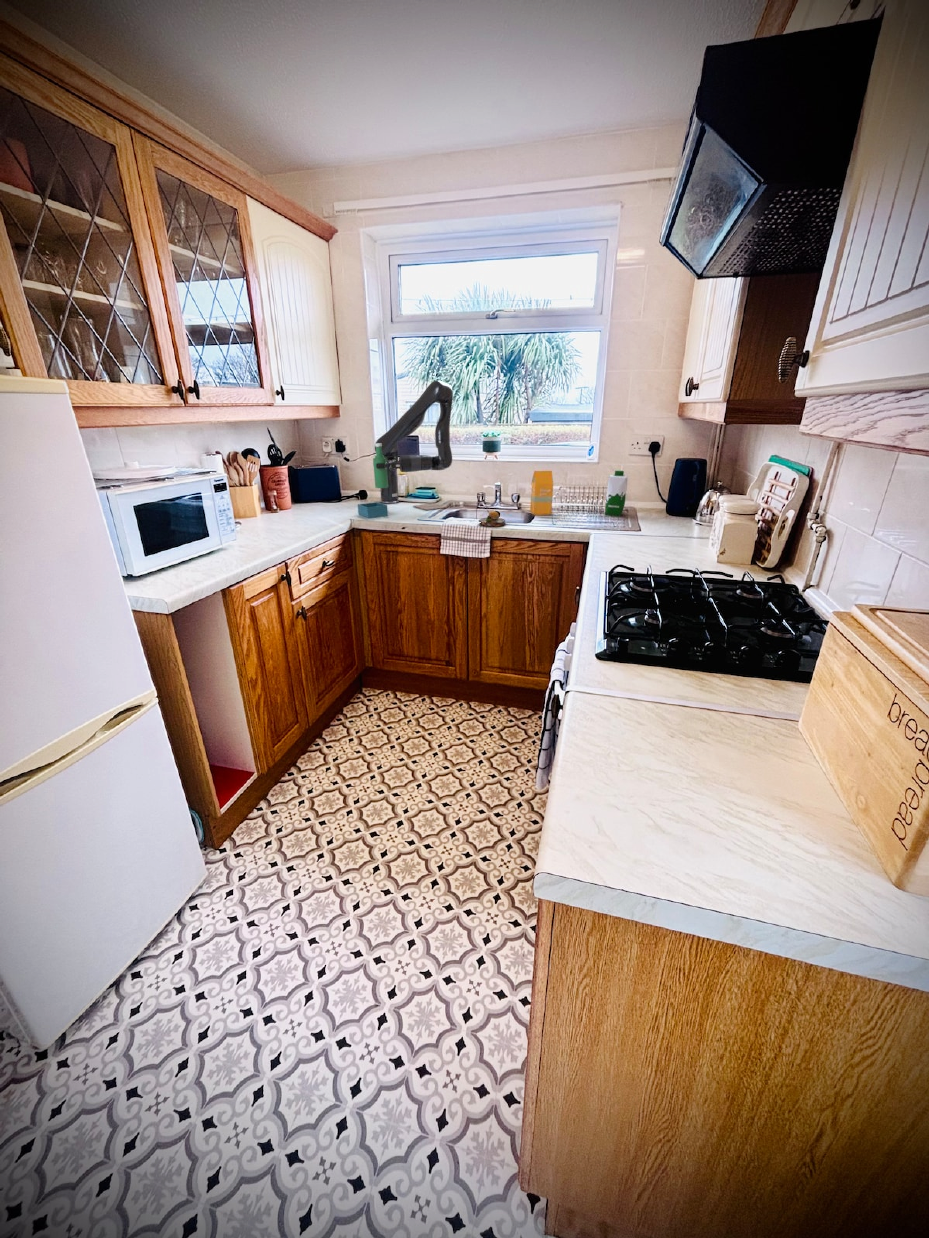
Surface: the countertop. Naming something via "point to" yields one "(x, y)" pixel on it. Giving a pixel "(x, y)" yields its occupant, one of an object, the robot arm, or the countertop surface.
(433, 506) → the board
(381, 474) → the bottle
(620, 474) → the milk carton
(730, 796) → the countertop surface
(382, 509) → the blue open box
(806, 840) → the countertop surface
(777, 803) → the countertop surface
